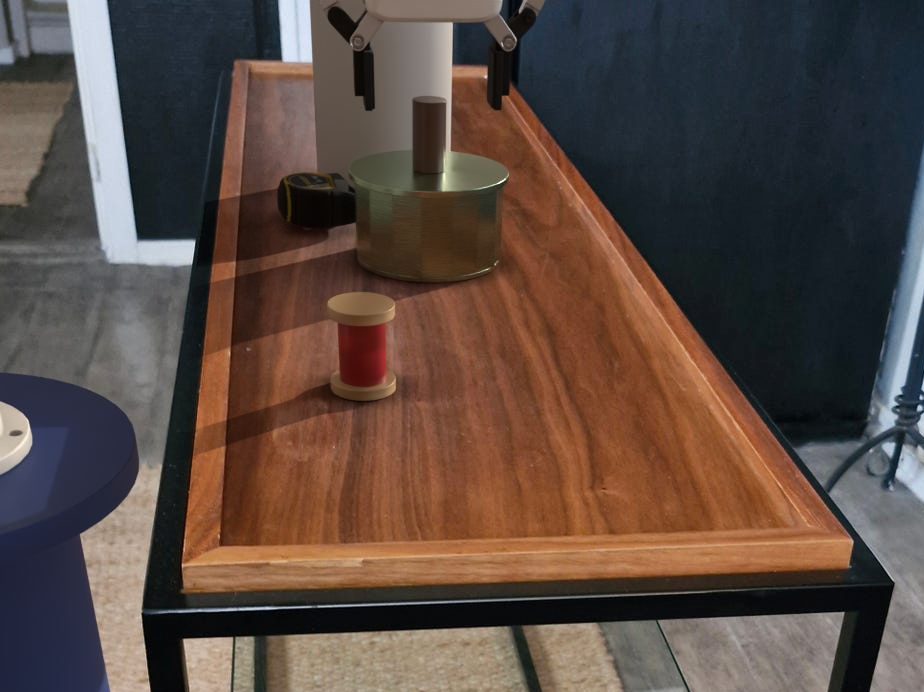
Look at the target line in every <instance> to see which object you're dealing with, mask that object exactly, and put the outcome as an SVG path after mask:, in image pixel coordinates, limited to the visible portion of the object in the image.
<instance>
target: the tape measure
mask: <svg viewBox="0 0 924 692" xmlns="http://www.w3.org/2000/svg"><path fill="white" fill-rule="evenodd" d="M276 203H277V210H278V212H279V215H280V216H281V218H282V219H283V220H284V221H285V222H287V223H289V224H291V225H292V226H293V225H294V226H296V227H300V228H302V229H303V230H305V231H309V230H312V229H315V230H316V229H317V230H318V229H319V230H320V229H321V230H327V229H333V228H336V227H337V228H338V227H342V226H348V225H351V224H356V210H355V189H354V188H353V187H352V186H351V185H350V184H348V183H347V182H346V180H345V179H344V178H343V177H342V176H341V175H340V174H338V173H330V174H320V173H317V172H306V171H305V172H296V173H292V174H288V175H285V176H284V177H282V178H281V179H280V181H279V184H278V186H277V192H276Z"/></svg>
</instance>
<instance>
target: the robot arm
mask: <svg viewBox="0 0 924 692" xmlns="http://www.w3.org/2000/svg"><path fill="white" fill-rule="evenodd" d="M318 1H319V3H320V5H321V7H322V9H323V10H324V12H325V14H326V16H327V18H328V20H329V22H330V24H331V25H332V26H333V27H334V28H335V29H336V30H337V31H338V33H339V34H340V35H341V36H342V37H343V38H344V39H345V40H346V41H347V42H348V43H349V44H350V46H351V47H352V49H353V70H354V93H355V96H363V103H364V107H365V110H366V111H372V110H373V109H375V84H374V53H373V50H372V48H371V47H370V40H371V39H372V37H373V36H374V34H375V33H376V32H377V30H378V29H379V28H380V26H381V25H382V23H383V22H384V21H387V22H428V23H453V24H454V23H456V24H457V23H459V24H460V23H462V24H463V23H465V24H466V23H482V22H483V25H484V26H485V28H487V30H488V31H489V32H490V34H491V35H492V38H491V43H490V46H488V48H487V76H486V102H487V103H488V106H490V108H491V109H493V111H502V107H503V97H509V96H510V89H511V64H512V63H511V62H512V61H511V60H512V51H514V50H515V48H516V46H517V44H518V43H519V42H520V40H521V39H522V38H523V37H524V36H526V34H527V33H528V32H529V31H530V30H531V28H532V27H534V25H535V24H536V22H537V17H538V16H539V14H540V12H541V11H542V8H543V6H544V4H545V2H546V0H523V1H522V3H521V5H520V7H519V8H518V9H516V11H515V12H514V13H513V14H512V15H511V16H510V18H509V19H508V20H507V21H506V22H505V20H504V18H503V17H502V16H501V14H500V13H501V11H502V6H503V1H504V0H362V1H363V3H364V4H365V5H366V7H365V8H364V10H363V11H362V12H361V14H360V15H359V17H358V18H357V20H356V21H355V22H354V21H353V20H352V19H351V18H350V17H349V15H348V14H347V13H346V12H345V11H344V10H343V9H342V8H341V6H340V4H339V2H338V0H318ZM31 446H32V433H31V429H30V425H29V421H28V419H27V418H26V417H25V416H24V414H23V413H21V412H20V411H18V410H17V409H15V408H14V407H12V406H10V405H8V404H5V403H3V402H0V475H2V474H4V473H6V472H8V471H9V470H11V469H12V468H13V467H15V466H16V465H17V464H19V463H20V462H21V461H22V460H23V458H24V457H25V456H26V455H27V454H28V453H29V450H30V448H31Z"/></svg>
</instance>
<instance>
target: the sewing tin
mask: <svg viewBox="0 0 924 692" xmlns="http://www.w3.org/2000/svg"><path fill="white" fill-rule="evenodd" d="M503 202H504V186H503V187H502V188H500V189H498V190H495V191H492V192H489V193H485V194H480V195H475V196H469V197H459V198H414V197H404V196H396V195H390V194H384V193H380V192H376V191H372V190H369V189H366V188H364V187H361V186H359V185H357V184H356V183H355V210H356V223H355V240H356V242H355V243H356V253H357V261H358V263H359V264H360V266H361V267H362V268H364V269H365V270H366V271H368V272H371V273H373V274H374V275H378V276H381V277H385V278H389V279H393V280H398V281H405V282H412V283H413V282H414V283H436V284H437V283H453V282H461V281H468V280H472V279H476V278H479V277H482V276H485V275H487V274H490V273H491V272H493V271H494V270H495V269H497V267H498V265H499V263H500V259H501V254H502V253H501V251H502V228H503V227H502V226H503V208H504V207H503Z"/></svg>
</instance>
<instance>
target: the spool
mask: <svg viewBox="0 0 924 692" xmlns="http://www.w3.org/2000/svg"><path fill="white" fill-rule="evenodd" d="M326 309H327V310H326V311H327V313H326V314H327V317H328V318H329V319H330V320H331V321H333V322H335V323H337V342H338V343H337V346H338V367H339V369H337V370H336V371H334V372H333V373H332V374H330V375H331V376H330V378H329V379H330V381H329V382H330V389H331V391H332V393H333V394H334V395H335V396H337V397H340V398H342V399H344V400H351V401H356V402H358V401H359V402H369V401H371V402H372V401H377V400H378V401H379V400H381V399H385V398H387V397H389V396H391V395H392V394H394V393H395V391H396V388H397V382H396V381H397V379H396V378H397V377H396V375H395V374H394V373H393V372H392V371H391V370H388V369H387V336H386V335H387V328H386V327H387V326H386V325H387V323H388V322H390V321H392V320H393V319H394V318H395V316H396V303H395V301H394V300H393V299H392V298H391V297H389V296H387V295H384V294H382V293H381V294H380V293H376V292H369V291H368V292H367V291H366V292H365V291H354V292H352V291H351V292H345V293H340V294H337V295H335V296H332V297H330V298H329V299H328V300H327V302H326Z"/></svg>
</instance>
